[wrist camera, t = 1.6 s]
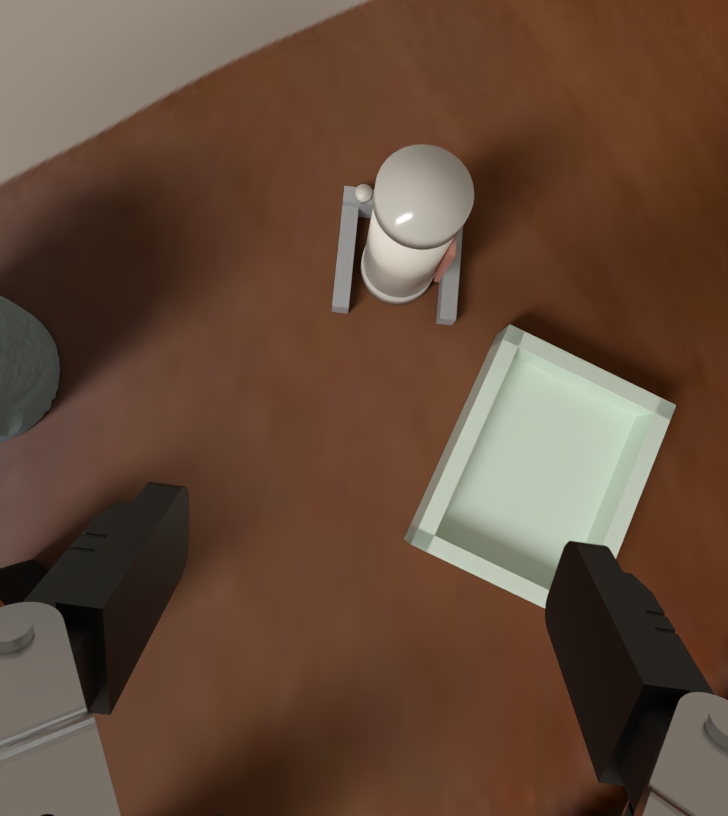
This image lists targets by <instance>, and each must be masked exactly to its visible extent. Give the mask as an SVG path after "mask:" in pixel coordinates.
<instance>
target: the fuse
mask: <svg viewBox="0 0 728 816" xmlns="http://www.w3.org/2000/svg"><path fill="white" fill-rule="evenodd" d="M473 202H474V186H473V182H472V179H471V176H470V174H469V172H468V170H467V169H466V167H465V166H464V164H463V163H462V162H461V161H460V160H459V159H458V158H457V157H456V156H454V155H453V154H452V153H450V152H448V151H447V150H445V149H442V148H440V147H437V146H433V145H425V144H420V145H412V146H408V147H405V148H402V149H400V150H398V151H397V152H395V153H393V154H392V155H391V156H390V157H389V158H388V159H387V160H386V161H385V162H384V164H383V165H382V167H381V168H380V170H379V172H378V175H377V178H376V184H375V189H374V195H373V211H372V216H371V221H370V226H369V232H368V237H367V242H366V246H365V248H364V251H363V255H362V260H361V266H360V272H361V278H362V281H363V283H364V285H365V287H366V289H367V290H368V291H369V293H370V294H371V295H372V296H374V297H375V298H376V299H378V300H379V301H382V302H384V303H387V304H391V305H404V304H408V303H411V302H413V301H415V300H417V299H418V298H420V297H421V296H422V295H423V294H424V293H425V291H426V290H427V288H428V287H429V285H430V283H431V281H432V279H433V277H434V282H440V280H441V278H442V277H443V275H444V273H445V272H446V270H447V268H448V267H449V265H450V263H451V262H452V260H453V259H454V257H455V252H456V239H457V234H458V233H459V232H460V230H461V228H462V227H463V225H464V223H465V221H466V220H467V218H468V216H469V214H470V212H471V210H472V206H473ZM434 274H435V275H434Z"/></svg>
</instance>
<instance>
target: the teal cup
mask: <svg viewBox="0 0 728 816" xmlns="http://www.w3.org/2000/svg"><path fill="white" fill-rule="evenodd" d="M59 359H60V358H59V356H58V350H57V348H56V344H55V342H54V340H53V338H52V336H51V335H50V334H49V332H48V331H47V329H46V328H45V327H44V326H43V324H42V323H41V322H40V321H39V320H38V319H36V318H35V317H34V316H33V315H32V314H30V313H29V312H27V311H26V310H24V309H23V308H21V307H20V306H18V305H16V304H15V303H13V302H11V301H10V300H8V299H6V298H4V297H2V296H0V442H2V441H5V440H8V439H11V438H14V437H16V436H18V435H20V434H22V433H24V432H26V431H28V430H29V429H30V428H31V427H32V426H33V425H34V424H36V423H37V422H38V421H39V420H40V419H41V418H42V417H43V415H44V413H45V412H47V411H49V409H50V407H51V403H52V400H53V399H54V398H55V397H56V391H57V390H58V384H59V375H60V365H59Z"/></svg>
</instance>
